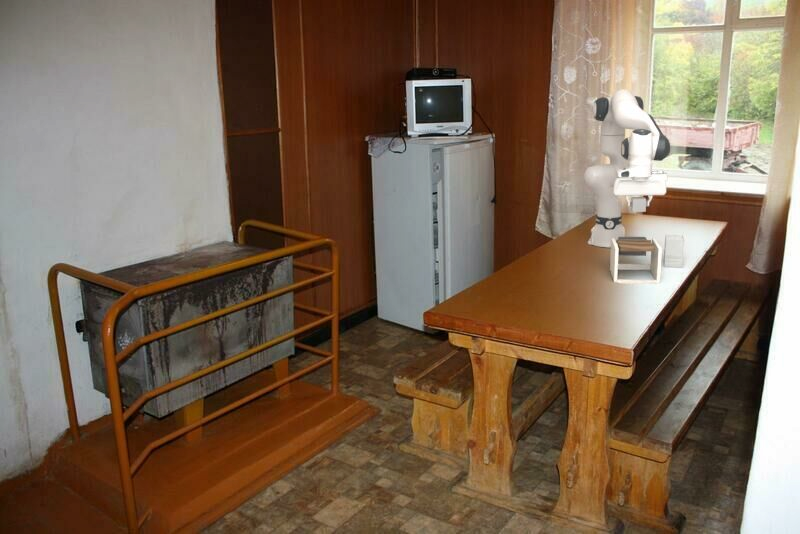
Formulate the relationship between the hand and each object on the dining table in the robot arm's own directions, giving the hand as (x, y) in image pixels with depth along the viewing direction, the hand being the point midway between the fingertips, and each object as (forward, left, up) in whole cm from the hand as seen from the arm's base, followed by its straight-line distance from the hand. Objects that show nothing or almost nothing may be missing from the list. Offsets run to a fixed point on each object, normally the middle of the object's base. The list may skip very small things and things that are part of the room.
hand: (638, 206), depth 278 cm
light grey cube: (0, 0, -2) cm, 2 cm away
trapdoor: (-6, 0, -23) cm, 24 cm away
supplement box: (-20, +18, -30) cm, 40 cm away
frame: (-3, 0, -30) cm, 30 cm away
